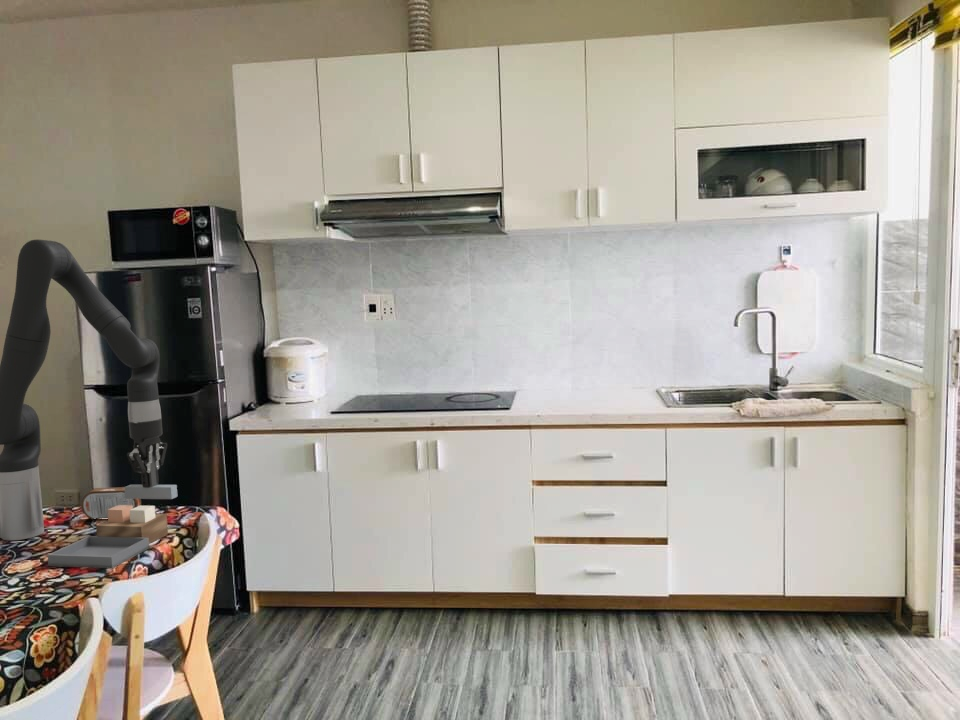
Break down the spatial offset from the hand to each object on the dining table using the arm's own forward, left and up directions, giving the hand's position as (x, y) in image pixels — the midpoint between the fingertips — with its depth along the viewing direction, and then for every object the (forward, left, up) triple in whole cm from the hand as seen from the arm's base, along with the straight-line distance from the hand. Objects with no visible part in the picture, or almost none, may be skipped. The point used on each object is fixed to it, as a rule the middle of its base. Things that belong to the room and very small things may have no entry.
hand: (150, 485), depth 188 cm
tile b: (+3, -8, -6) cm, 11 cm away
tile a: (-3, -8, -6) cm, 11 cm away
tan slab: (0, -8, -11) cm, 14 cm away
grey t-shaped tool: (0, 0, -3) cm, 3 cm away
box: (0, -20, -11) cm, 23 cm away
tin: (-18, +8, -12) cm, 23 cm away
